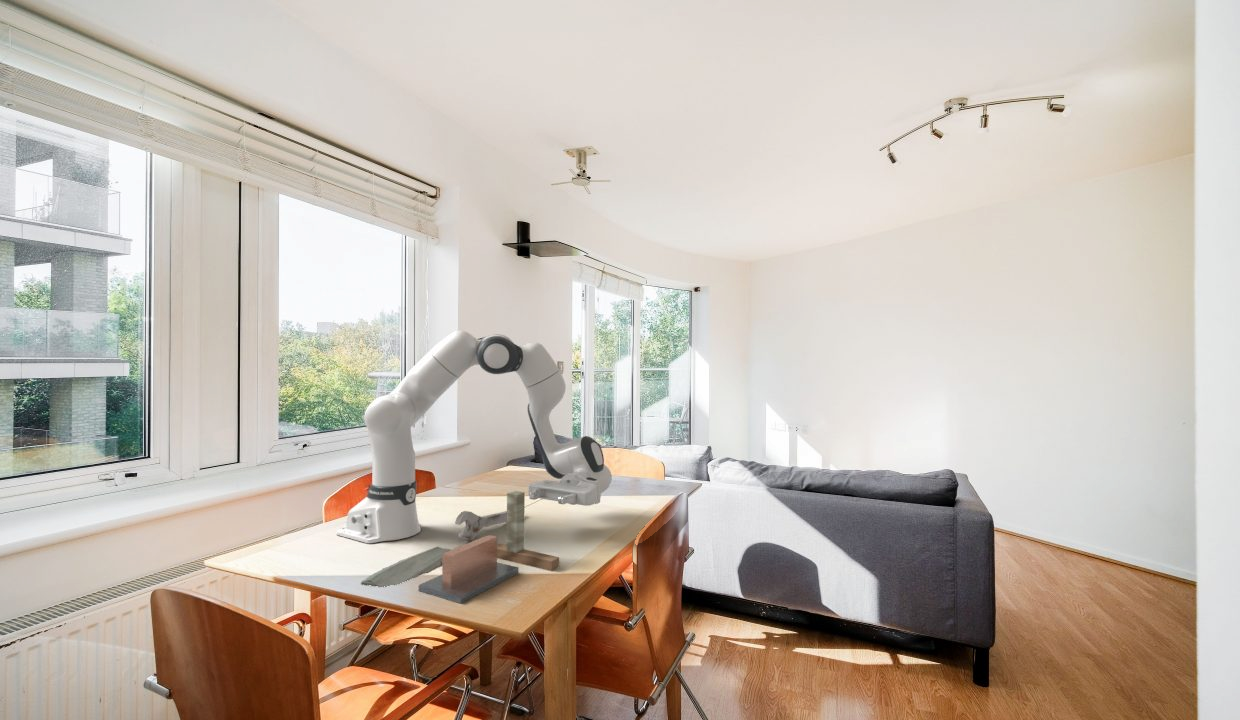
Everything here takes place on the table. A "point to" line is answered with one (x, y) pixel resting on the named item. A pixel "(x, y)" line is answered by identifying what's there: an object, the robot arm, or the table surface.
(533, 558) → the brown t-shaped piece
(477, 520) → the wrench
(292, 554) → the table surface
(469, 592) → the stand
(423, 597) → the table surface
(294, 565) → the table surface
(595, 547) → the table surface
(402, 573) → the stone slab
